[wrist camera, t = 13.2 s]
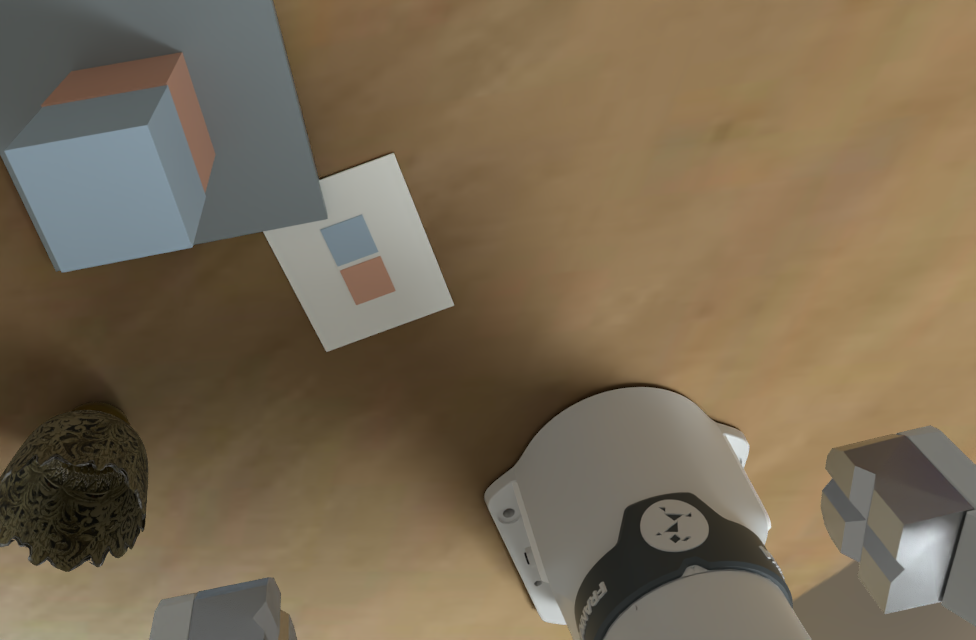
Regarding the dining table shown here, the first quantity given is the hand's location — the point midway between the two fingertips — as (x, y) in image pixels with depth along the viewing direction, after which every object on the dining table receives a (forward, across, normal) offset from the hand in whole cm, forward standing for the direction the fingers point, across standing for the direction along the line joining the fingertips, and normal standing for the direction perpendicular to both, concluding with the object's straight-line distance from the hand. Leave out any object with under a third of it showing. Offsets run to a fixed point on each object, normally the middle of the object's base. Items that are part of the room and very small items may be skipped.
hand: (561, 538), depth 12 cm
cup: (+33, +21, +19) cm, 44 cm away
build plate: (+33, +12, +2) cm, 35 cm away
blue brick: (+27, +12, +2) cm, 30 cm away
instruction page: (+33, +4, +12) cm, 35 cm away
